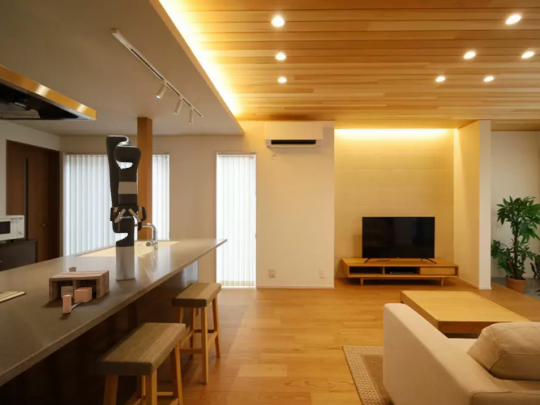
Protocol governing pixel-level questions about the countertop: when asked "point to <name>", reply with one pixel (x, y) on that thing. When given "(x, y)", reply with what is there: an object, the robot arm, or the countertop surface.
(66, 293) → the maple block
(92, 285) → the walnut shelf
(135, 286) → the countertop surface
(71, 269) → the flask
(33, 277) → the countertop surface
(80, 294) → the tethered block
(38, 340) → the countertop surface
